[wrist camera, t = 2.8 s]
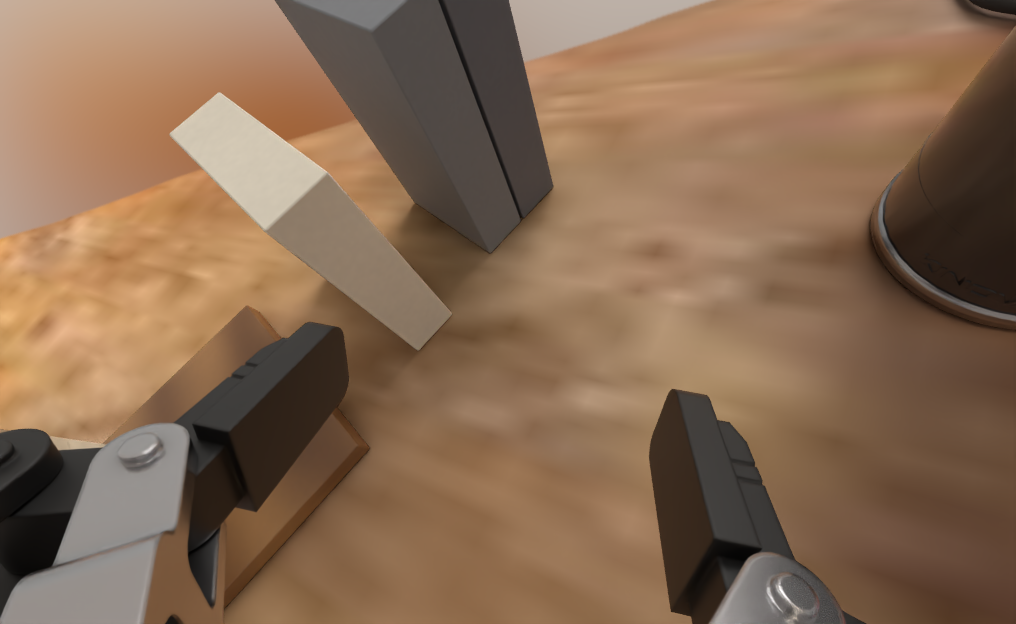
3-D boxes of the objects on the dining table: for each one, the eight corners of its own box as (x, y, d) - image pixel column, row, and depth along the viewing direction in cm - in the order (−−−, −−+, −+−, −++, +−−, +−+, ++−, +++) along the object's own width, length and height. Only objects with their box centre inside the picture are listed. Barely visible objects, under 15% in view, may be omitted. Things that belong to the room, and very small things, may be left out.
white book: (362, 239, 30) (218, 91, 20) (453, 314, 25) (327, 171, 15) (331, 269, 30) (167, 134, 19) (418, 351, 25) (263, 231, 14)
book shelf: (260, 312, 30) (24, 181, 18) (370, 448, 23) (110, 378, 12) (57, 508, 27) (-373, 501, 15) (118, 727, 20) (-555, 999, 9)
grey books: (472, 144, 31) (369, -94, 19) (553, 186, 28) (491, -76, 15) (414, 202, 30) (267, -10, 18) (490, 254, 27) (370, 30, 14)
